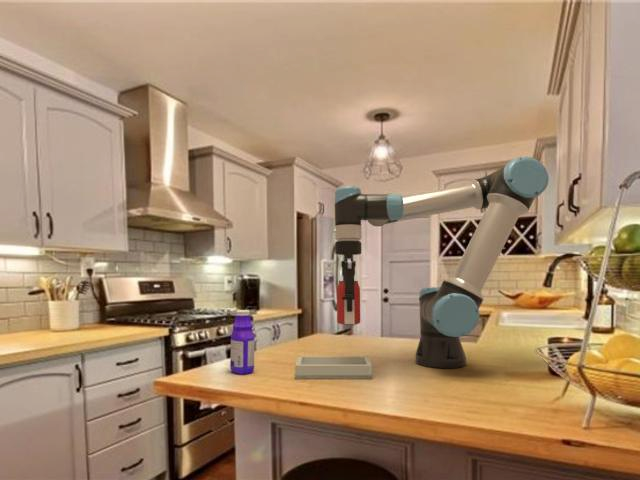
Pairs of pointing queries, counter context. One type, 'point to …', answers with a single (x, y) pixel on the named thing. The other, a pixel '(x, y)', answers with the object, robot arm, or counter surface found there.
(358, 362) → the tray
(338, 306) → the beer can
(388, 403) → the counter surface
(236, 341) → the bottle
